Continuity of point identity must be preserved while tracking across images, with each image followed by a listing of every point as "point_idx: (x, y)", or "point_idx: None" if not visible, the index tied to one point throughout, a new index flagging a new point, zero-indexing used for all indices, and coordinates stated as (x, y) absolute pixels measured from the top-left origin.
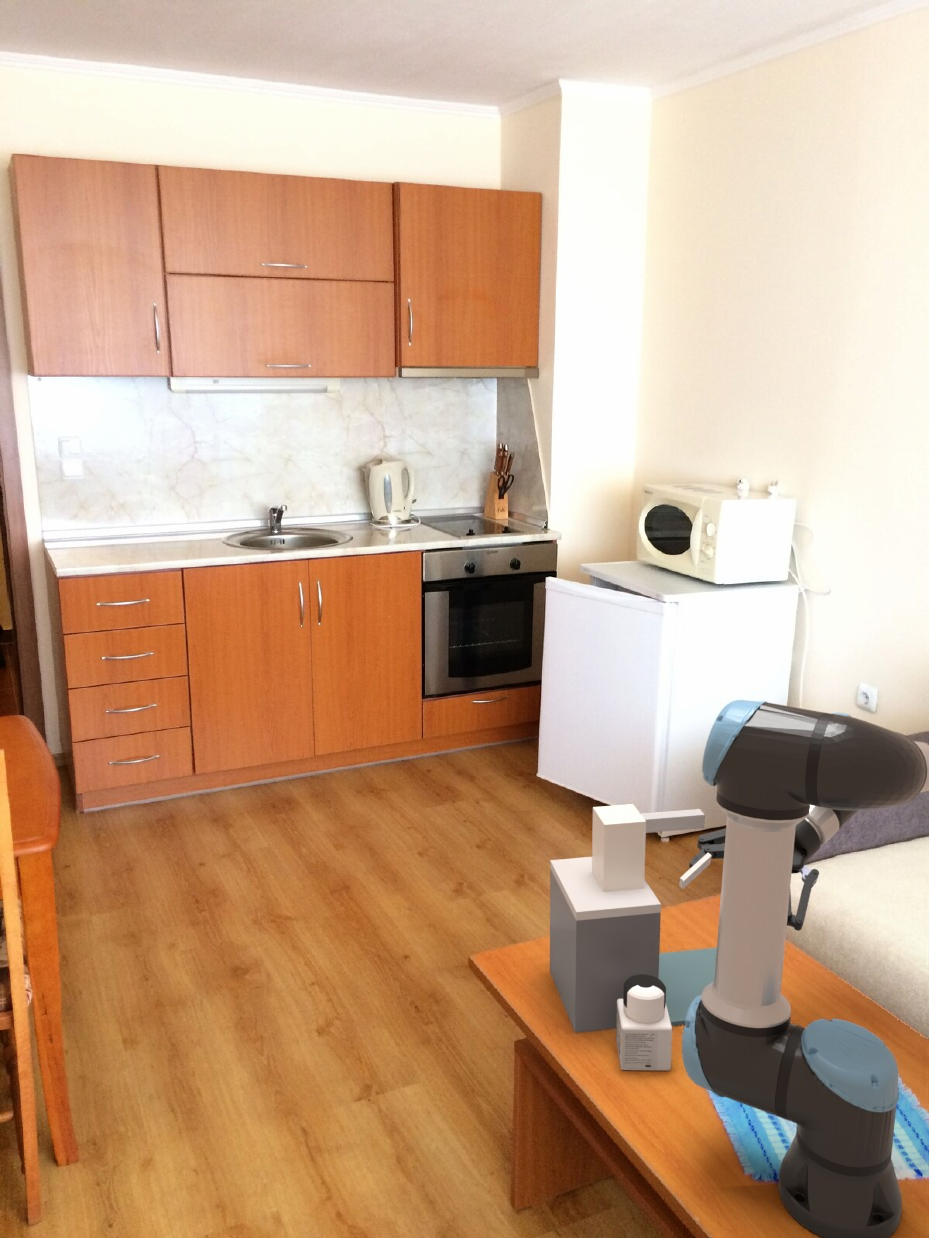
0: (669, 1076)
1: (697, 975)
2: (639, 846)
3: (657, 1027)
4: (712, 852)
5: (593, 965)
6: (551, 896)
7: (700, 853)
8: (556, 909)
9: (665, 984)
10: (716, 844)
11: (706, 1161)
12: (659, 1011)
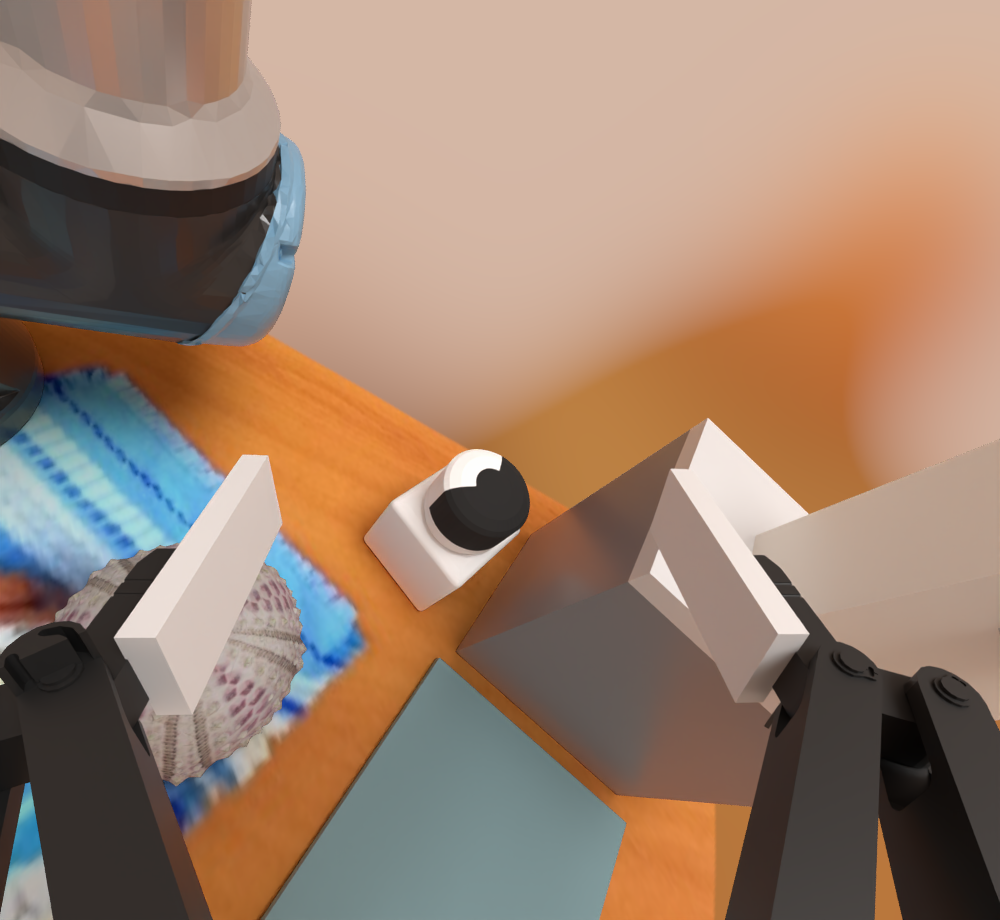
0: (356, 525)
1: (491, 904)
2: (911, 572)
3: (414, 487)
4: (806, 681)
5: (597, 505)
6: None
7: (814, 627)
8: None
9: (518, 786)
10: (877, 733)
11: (203, 374)
12: (430, 491)
